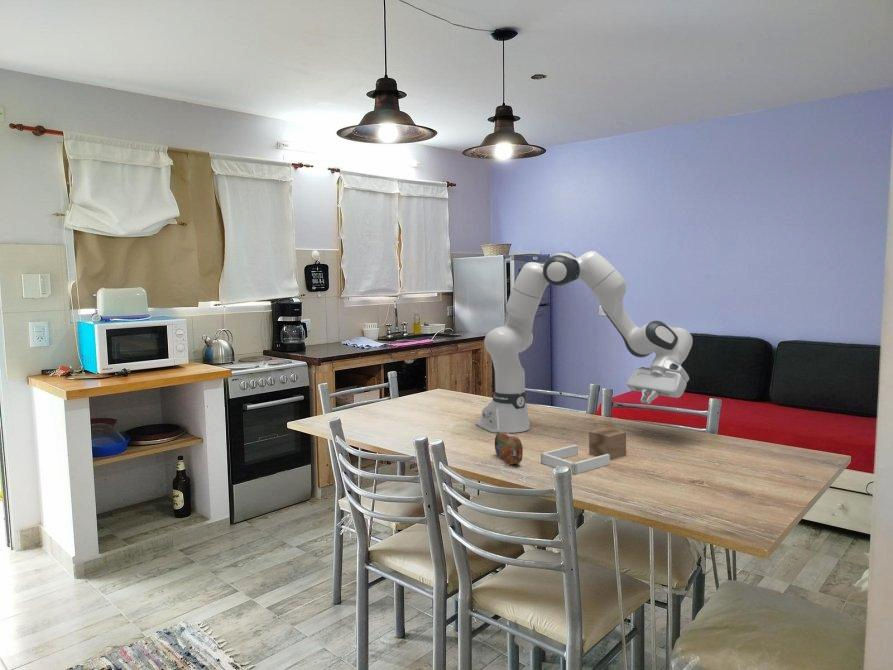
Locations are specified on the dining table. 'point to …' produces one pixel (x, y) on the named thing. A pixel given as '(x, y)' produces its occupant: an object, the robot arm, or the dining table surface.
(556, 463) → the white u-shaped frame
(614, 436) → the walnut block
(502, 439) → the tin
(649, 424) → the dining table surface
